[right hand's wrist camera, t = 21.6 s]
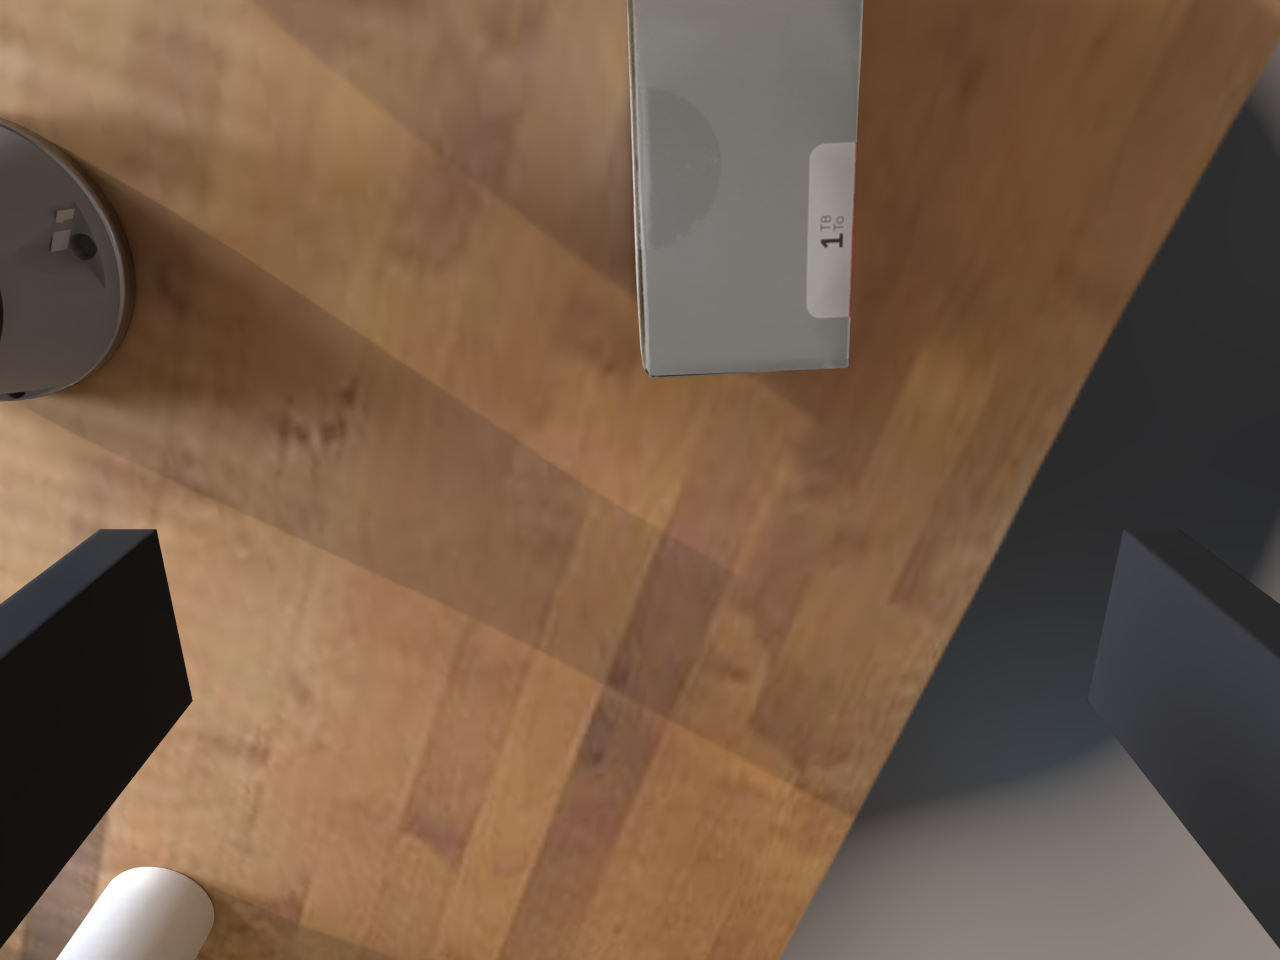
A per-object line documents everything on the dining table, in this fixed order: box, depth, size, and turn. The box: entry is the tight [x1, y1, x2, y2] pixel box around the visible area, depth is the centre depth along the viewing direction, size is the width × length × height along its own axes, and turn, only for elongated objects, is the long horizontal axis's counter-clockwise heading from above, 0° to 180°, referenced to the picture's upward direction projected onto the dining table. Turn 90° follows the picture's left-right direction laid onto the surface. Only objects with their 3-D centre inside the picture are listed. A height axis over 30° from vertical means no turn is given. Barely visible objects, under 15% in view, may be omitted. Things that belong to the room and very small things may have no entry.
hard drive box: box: [627, 0, 863, 378], centre depth 39 cm, size 16×8×20 cm, turn 2°
